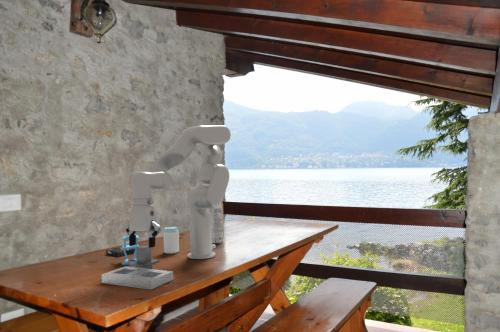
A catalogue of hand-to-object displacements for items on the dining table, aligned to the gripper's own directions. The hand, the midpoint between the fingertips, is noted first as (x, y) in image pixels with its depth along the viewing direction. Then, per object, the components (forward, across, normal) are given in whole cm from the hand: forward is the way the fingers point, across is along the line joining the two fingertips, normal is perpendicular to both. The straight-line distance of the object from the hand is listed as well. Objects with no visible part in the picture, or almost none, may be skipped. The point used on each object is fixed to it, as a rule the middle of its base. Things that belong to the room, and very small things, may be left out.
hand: (142, 246), depth 152 cm
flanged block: (+10, 0, -1) cm, 10 cm away
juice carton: (+8, +2, -60) cm, 60 cm away
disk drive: (+10, +31, -24) cm, 40 cm away
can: (+9, +9, -31) cm, 33 cm away
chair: (+10, +15, -10) cm, 20 cm away
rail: (+10, -8, +12) cm, 18 cm away
